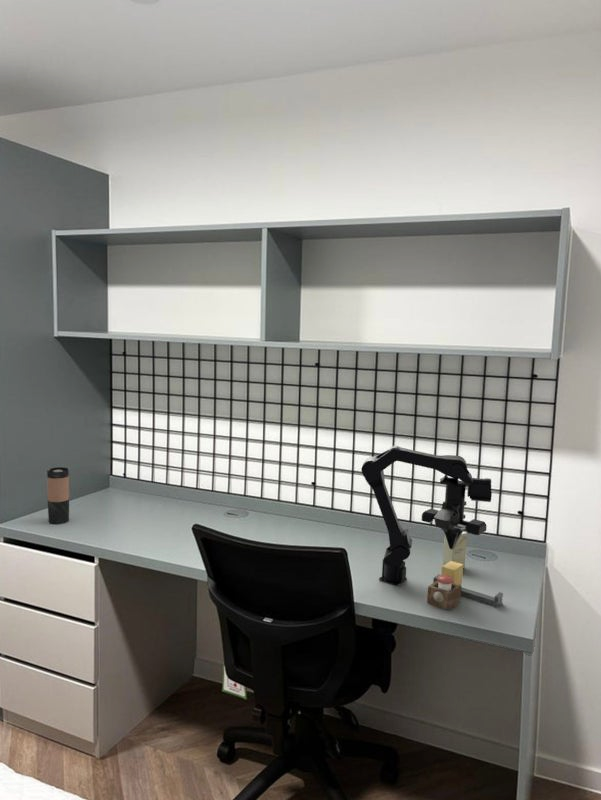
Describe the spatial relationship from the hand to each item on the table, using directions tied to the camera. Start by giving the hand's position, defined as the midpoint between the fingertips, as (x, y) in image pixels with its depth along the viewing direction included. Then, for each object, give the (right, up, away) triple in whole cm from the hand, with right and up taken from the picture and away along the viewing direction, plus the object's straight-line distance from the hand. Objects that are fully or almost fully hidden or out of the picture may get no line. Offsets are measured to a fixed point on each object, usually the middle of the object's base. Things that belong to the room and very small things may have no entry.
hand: (451, 548), depth 194 cm
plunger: (-4, -13, -10) cm, 16 cm away
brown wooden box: (-4, -13, -9) cm, 17 cm away
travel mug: (-137, -1, +49) cm, 145 cm away
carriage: (0, -12, -1) cm, 12 cm away
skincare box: (+4, -10, +16) cm, 20 cm away
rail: (+3, -13, -4) cm, 14 cm away
